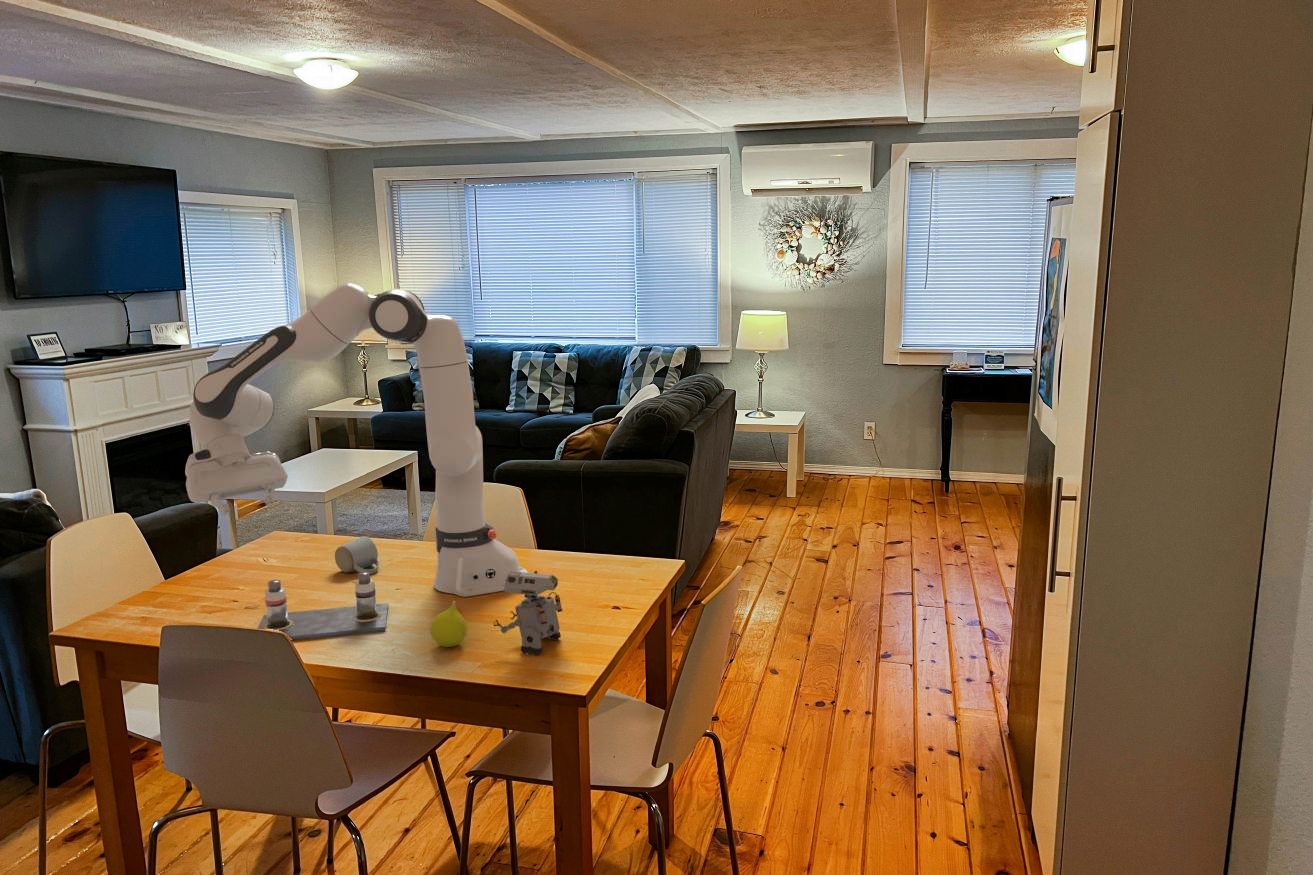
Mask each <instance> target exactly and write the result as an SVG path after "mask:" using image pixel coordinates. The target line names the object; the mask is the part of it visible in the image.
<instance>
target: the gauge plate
mask: <svg viewBox="0 0 1313 875" xmlns="http://www.w3.org/2000/svg"><path fill="white" fill-rule="evenodd" d="M376 608H377V616H376V617H374V618H371V619H359V618H358V616H357V605H354V606H344V607H334V608H321V609H311V610H302V611H300V610H299V611H291V612H289V611H288V612H287V613H288V624H287V625H286V626H284V627H280V628H270V627H268V620H267V614H263V616H262V618H261V620H260V622H259V624H258V627H257V629H273V630H279V631H282V632H284V633H286V634H287V635H288V636H289V637H290V638H291V639H292V641H293V642H294V641H302V640H301V639H304V640H310V639H311V638H312V639H311V640H313V638H314V639H323V638H331V637H332V638H333V637H341V636H351V635H361V634H363V635H364V634H371V633H373V634H374V633H380V632H382V633H383V632H386V628H387V621H388V614H389V613H388V612H389V602H386V603H385V602H384V603H376ZM257 629H256V630H257ZM292 641H291V642H292Z"/></svg>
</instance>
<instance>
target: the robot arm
mask: <svg viewBox="0 0 1313 875" xmlns="http://www.w3.org/2000/svg"><path fill="white" fill-rule="evenodd" d="M369 329H373V330H374V331H375V332H376V334H378V335H380V336H381V337H382V338H385V339H388V340H391V341H397V342H404V343H408V344H412V345H413V347H414V350H415V352H416V355H417V356H416V357H417V365H418V370H419V377H420V382H421V390H422V395H423V401H424V402H423V403H424V414H425V415H424V416H425V418H424V419H425V428H426V429H425V430H426V438H427V440H426V441H427V447H428V456H429V460H430V462H431V465H432V466H433V468H434V469H435V494H434V500H435V513H436V514H435V516H436V527H435V533H434V537H435V549H436V552H437V561H436V562H437V565H436V572H435V577H434V582H433V587H434V589H435V590H437V591H439V592H443V593H445V594H452V595H453V594H454V595H455V596H456V595H457V597H458V596H459V597H461V598H462V597H463V598H466V597H472V596H479V595H484V594H485V595H486V594H490V593H497V592H505V589H504V587H505V582H506V581H505V580H506V578H507V575H508V573H509V572H510V571H512V572H523V573H529V572H528V570H527V569H526V568H525V567H522V566H520V562H519V558H518V556H517V555H516V553H515V551H513V549H511V548H510V547H508V546H507V545H505V544H503V543H502V542H500V541H498V539H496V537H497V535H498V534H497V531H496V529H494V526H492V524H491V523H489V524H488V523H485V506H484V505H485V503H484V502H485V501H484V454H483V453H484V452H483V451H484V450H483V435H482V433H481V430H480V429H479V427H478V426H477V425H476V417H475V407H474V406H475V405H474V391H473V386H472V379H471V374H470V367H469V360H468V354H467V351H466V345H465V341H464V338H463V335H462V331H461V328H460V326H459V323H458V321H456V320H455V319H454V318H453V317H451V316H449V315H445V314H428V313H427V312H426V311H425V307H424V304H423V302H422V300H421V299H420V298H419V297H418V296H417V295H416V294H415V293H413V292H411V291H408V290H405V289H401V288H391V289H388V290H386V291H384V292H382V293H377V294H375V295H373V294H371V293H369V292H368V291H367V290H366V289H364V288H363V287H361V286H360V285H358V284H354V283H350V282H347V283H343V284H340V285H339V286H338V287H336V288H334V289H333V290H332V291H330V292H328V293H327V294H326V295H325V296H323V297H322V298H321V299H319V300H318V301H316V303H315V304H314V305H313V306H311V308H309V310H307V311H306V312H304V314H302V315H301V316H300V317H298V318H296V319H295V320H293V321H291V322H288V323H287V324H284V325H280V326H278V327H275V328H273V329H272V330H269V331H268V332H267V333H265V334H263V335H262V336H261V337H259V338H258V339H257V340H255V341H254V342H252V343H251V344H250V345H249V346H248V347H246V348H244V350H242V351H241V352H239V353H238V354H236V356H234V357H233V358H231V359H230V360H229V361H227V362H226V363H224V364H223V365H222V366H219V367H217V368H215V369H213V370H211V371H209V372H207V373H206V374H204V375H203V376H202V377H201V378H199V380H198V381H197V382H196V384H195V386H194V389H193V394H192V396H193V401H192V402H191V404H190V407H189V413H188V414H189V420H190V424H191V428H192V430H193V434H194V437H195V438H196V440H197V442H198V443H199V444H200V445H201V449H200V450H198V451H196V452H193V453H191V454H189V456H188V458H187V461H186V464H185V469H184V470H185V471H184V473H185V477H186V481H185V488H186V491H187V496H188V498H189V501H191V502H193V503H194V504H201V503H206V502H210V504H211V505H212V506H213V507H215V508H216V509H218V510H219V512H220V515H221V516H226V515H230V512H231V507H230V506H229V503H223V502H222V501H221V500H223V499H226V498H227V499H228V498H234V497H238V496H244V495H249V494H254V493H260V492H265V493H266V496H265V498H264V503H265V506H267V507H271V506H275V504H276V499H275V497H274V493H275V489H276V490H278V489H282V488H284V487H285V485H286V483H287V481H288V473H287V472H286V470H285V469H286V468H284V465H282V463H281V460H280V457H279V456H278V454H277V453H274V452H270V451H263V452H257V453H255V452H254V453H250V451H249V449H248V447H247V444H246V442H245V439H244V437H245V438H246V437H249V436H251V435H253V434H254V433H256V432H258V431H260V430H261V429H263V428H265V427H266V426H268V425H269V423H270V422H271V420H272V418H273V416H274V412H275V404H274V399H273V397H272V396H271V394H270V393H269V392H267V391H264V390H262V389H260V388H258V387H256V386H254V385H252V384H250V383H251V382H252V381H254V380H255V379H256V378H257V377H259V376H260V375H262V373H265V372H266V370H268V369H269V368H270V367H272V366H274V365H276V364H279V363H282V362H286V361H287V362H288V361H302V362H303V361H304V362H310V363H321V362H322V363H323V362H327V361H330V360H332V359H333V358H335V357H336V356H338V355H339V354H341V353H342V351H343V350H345V349H346V348H347V346H349V344H351V343H352V342H353V341H354V340H355V339H356V338H357V337H358V336H359V335H360V334H361V333H363V332H364V331H366V330H369ZM267 494H268V495H267Z"/></svg>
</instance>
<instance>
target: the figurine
mask: <svg viewBox="0 0 1313 875" xmlns="http://www.w3.org/2000/svg"><path fill="white" fill-rule="evenodd" d="M505 581H506V582H505V587H504V589H505V590H504V593H505V594H515V595H524V598H525V599H523V600H522V601H521V602H520V603H518V604H517V605H515V606H514V609H515V612H513V610H511V611H510V612H509V614H510V615H511V613H512V614H513V617H511V616H509V618H510V619H511V620H513V619H515V617H516V619H515V620H514V622H510V623H508V624H507V625H504V626H503V625H502V624H500V623H499V621H498V620H497V619H496V620H495V621H494V623H493V626H494V627H499V628H500V632H501V633H502V634H506V633H507V631H509V630H513V629H515V628H516V627H518V629H519V632H520V637H521V646H520V652H522V654H523V653H524V654H526V653H528V654H531V655H532V654H534V655H535V656H537V655H538V656H539V655H541V654H543V652H544V651H543V646H542V642H541V639H545V638H547V639H550V640H551V639H552V640H554V639H557V640H559V639H560V638H561V632H560V624H559V622H560V621H559V619H558V614H557V613H561V612H563V608H562V603H561V598H560V595H558V594H557V592H555V590H556V588H557V586H558V585H559V578H558V577H556V576H555V575H553V574H545V573H544V574H543V573H538V571H537V570H534V572H528V573H523V572H512V571H510V572H509V573H508V575H507V578H506V580H505ZM547 591H553V592H550V593H549V594H548V596H544V595H541V594H542V593H544V592H547ZM552 594H555V596H554V598H553V596H551V595H552ZM495 622H496V623H495ZM525 652H526V653H525ZM528 654H527V655H528Z"/></svg>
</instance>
